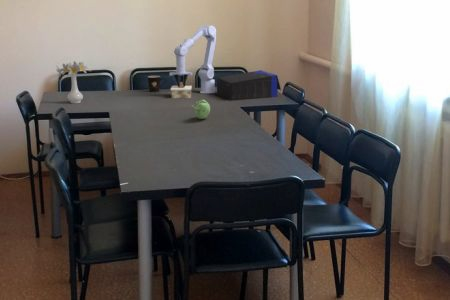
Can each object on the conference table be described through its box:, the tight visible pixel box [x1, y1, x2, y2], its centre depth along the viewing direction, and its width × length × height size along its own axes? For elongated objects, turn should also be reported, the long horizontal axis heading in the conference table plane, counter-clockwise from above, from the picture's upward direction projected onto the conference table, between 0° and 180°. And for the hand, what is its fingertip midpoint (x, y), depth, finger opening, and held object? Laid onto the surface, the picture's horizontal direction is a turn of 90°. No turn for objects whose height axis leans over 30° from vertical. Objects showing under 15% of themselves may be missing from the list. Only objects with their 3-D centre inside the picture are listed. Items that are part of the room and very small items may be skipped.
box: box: [171, 89, 192, 99], centre depth 373 cm, size 12×12×5 cm
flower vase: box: [55, 61, 88, 104], centre depth 352 cm, size 13×18×25 cm
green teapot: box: [190, 99, 211, 120], centre depth 308 cm, size 12×11×11 cm
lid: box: [170, 81, 193, 92], centre depth 372 cm, size 13×13×4 cm
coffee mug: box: [147, 75, 167, 93], centre depth 390 cm, size 12×9×10 cm
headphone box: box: [216, 69, 282, 102], centre depth 375 cm, size 25×35×14 cm
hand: (181, 86), depth 372 cm, fingers closed on lid, 3 cm apart
